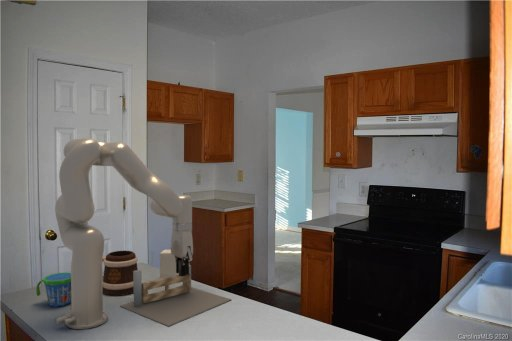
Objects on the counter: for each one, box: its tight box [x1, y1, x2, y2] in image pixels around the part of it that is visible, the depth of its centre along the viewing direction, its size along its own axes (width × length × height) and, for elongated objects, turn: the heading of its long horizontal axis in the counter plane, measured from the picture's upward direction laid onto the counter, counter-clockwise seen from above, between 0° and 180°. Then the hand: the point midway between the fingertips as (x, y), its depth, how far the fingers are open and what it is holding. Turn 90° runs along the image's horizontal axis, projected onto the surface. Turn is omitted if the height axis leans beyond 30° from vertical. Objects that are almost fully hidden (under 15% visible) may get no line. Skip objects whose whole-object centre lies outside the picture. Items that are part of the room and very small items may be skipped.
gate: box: [142, 259, 190, 303], centre depth 152 cm, size 20×3×13 cm, turn 131°
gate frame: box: [133, 264, 192, 307], centre depth 154 cm, size 26×3×13 cm, turn 142°
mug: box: [102, 250, 139, 296], centre depth 163 cm, size 20×15×15 cm
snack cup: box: [35, 271, 71, 308], centre depth 148 cm, size 16×11×10 cm
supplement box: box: [159, 249, 179, 279], centre depth 176 cm, size 7×7×13 cm
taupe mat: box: [119, 284, 232, 328], centre depth 148 cm, size 30×27×1 cm
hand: (182, 273), depth 157 cm, fingers closed on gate, 3 cm apart
